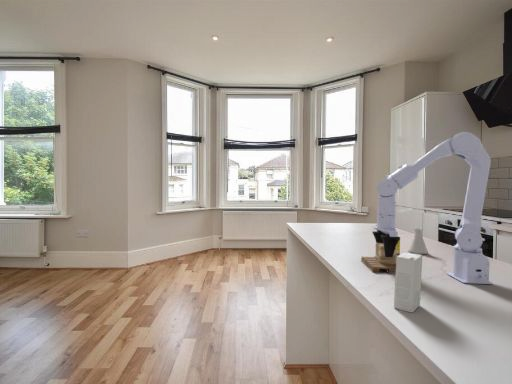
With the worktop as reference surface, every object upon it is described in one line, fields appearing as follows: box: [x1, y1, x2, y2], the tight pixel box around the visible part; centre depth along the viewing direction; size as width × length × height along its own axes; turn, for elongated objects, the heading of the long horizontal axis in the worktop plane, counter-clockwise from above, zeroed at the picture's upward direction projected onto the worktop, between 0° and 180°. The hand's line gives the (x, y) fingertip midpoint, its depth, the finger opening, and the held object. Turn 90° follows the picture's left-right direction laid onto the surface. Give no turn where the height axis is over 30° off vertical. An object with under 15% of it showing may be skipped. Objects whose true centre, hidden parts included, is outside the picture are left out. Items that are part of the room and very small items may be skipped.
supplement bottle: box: [396, 230, 401, 258], centre depth 123 cm, size 5×5×10 cm
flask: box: [407, 227, 429, 255], centre depth 129 cm, size 7×7×10 cm
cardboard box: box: [374, 242, 397, 264], centre depth 105 cm, size 5×5×6 cm
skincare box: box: [393, 252, 423, 313], centre depth 71 cm, size 6×4×12 cm
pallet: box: [360, 256, 397, 274], centre depth 106 cm, size 14×12×2 cm
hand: (385, 254), depth 105 cm, fingers open, 7 cm apart
